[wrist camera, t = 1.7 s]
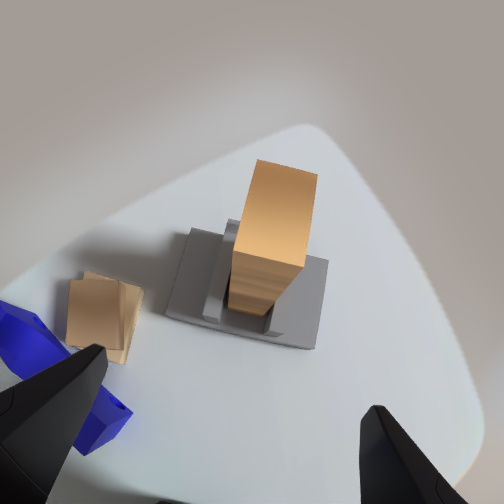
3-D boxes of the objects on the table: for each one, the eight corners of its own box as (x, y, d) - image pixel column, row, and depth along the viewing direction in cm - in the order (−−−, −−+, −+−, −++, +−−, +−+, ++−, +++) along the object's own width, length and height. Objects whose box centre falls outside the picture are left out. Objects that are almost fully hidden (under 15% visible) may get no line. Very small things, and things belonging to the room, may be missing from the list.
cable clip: (13, 350, 20) (-29, 342, 14) (36, 314, 21) (-4, 298, 16) (105, 449, 18) (74, 469, 13) (134, 412, 20) (107, 426, 14)
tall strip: (261, 317, 22) (304, 267, 11) (227, 309, 22) (233, 250, 11) (272, 265, 23) (317, 174, 12) (240, 257, 23) (257, 159, 12)
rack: (308, 349, 23) (327, 346, 18) (168, 317, 23) (156, 307, 18) (323, 266, 25) (342, 246, 21) (193, 235, 25) (187, 209, 21)
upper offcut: (124, 350, 20) (115, 349, 18) (77, 346, 20) (66, 345, 18) (125, 286, 22) (118, 280, 20) (80, 286, 21) (70, 279, 20)
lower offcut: (127, 364, 22) (119, 364, 20) (75, 344, 21) (64, 342, 20) (146, 293, 24) (140, 287, 22) (94, 277, 24) (85, 270, 22)
